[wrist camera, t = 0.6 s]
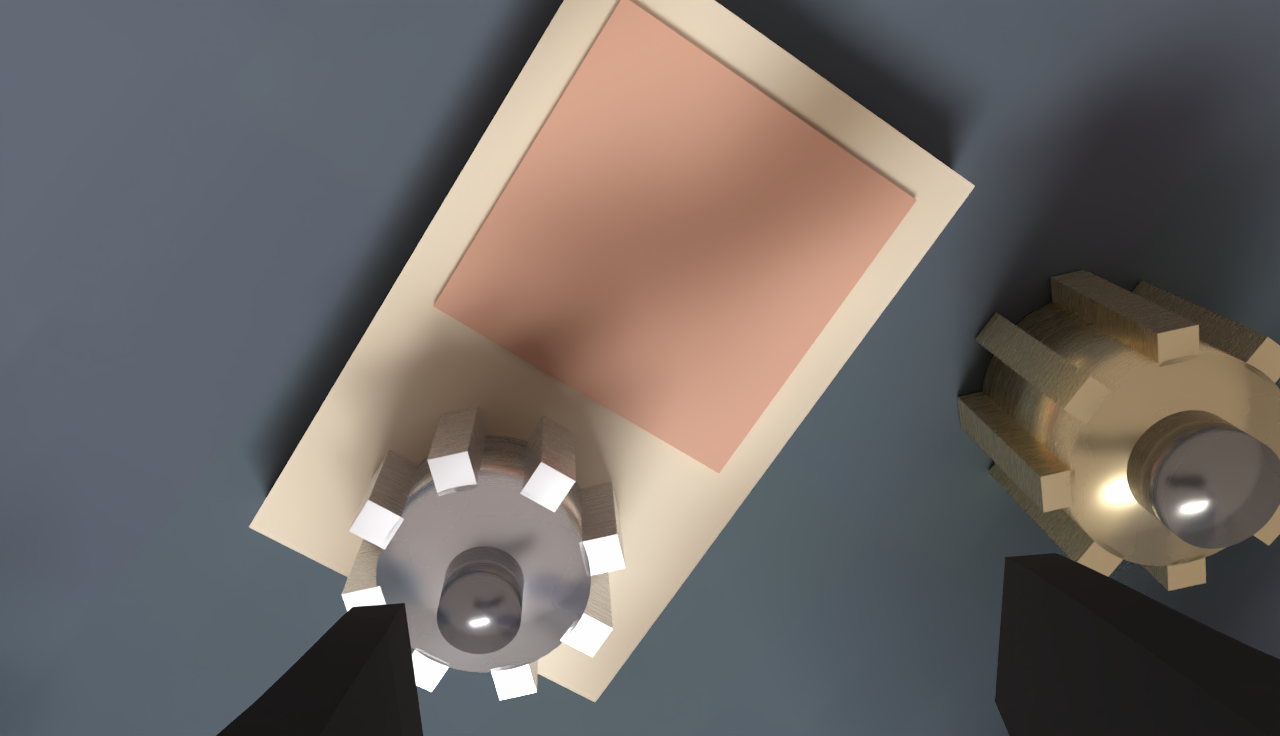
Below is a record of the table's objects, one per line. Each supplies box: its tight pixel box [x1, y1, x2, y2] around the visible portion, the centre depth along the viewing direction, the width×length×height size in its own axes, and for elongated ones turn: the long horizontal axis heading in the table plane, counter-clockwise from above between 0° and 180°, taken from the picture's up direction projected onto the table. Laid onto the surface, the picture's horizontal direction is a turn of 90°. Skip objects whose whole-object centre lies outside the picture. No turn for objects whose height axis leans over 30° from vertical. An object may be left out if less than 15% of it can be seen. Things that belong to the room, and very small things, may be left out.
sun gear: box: [342, 406, 625, 700], centre depth 19 cm, size 5×5×3 cm
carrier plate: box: [249, 0, 975, 702], centre depth 20 cm, size 8×13×1 cm, turn 147°
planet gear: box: [957, 270, 1280, 591], centre depth 19 cm, size 5×5×5 cm
